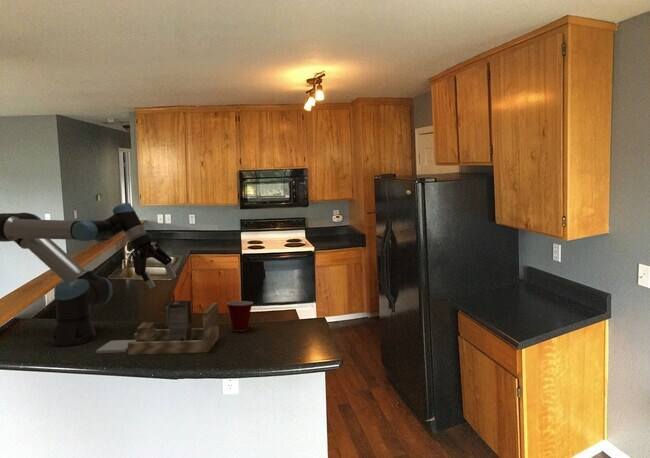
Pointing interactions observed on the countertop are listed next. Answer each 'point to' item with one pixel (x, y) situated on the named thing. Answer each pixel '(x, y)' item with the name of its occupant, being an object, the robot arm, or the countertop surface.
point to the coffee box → (180, 321)
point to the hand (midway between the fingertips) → (163, 282)
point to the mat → (115, 346)
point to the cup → (167, 316)
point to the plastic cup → (240, 314)
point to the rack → (190, 346)
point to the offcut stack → (146, 333)
